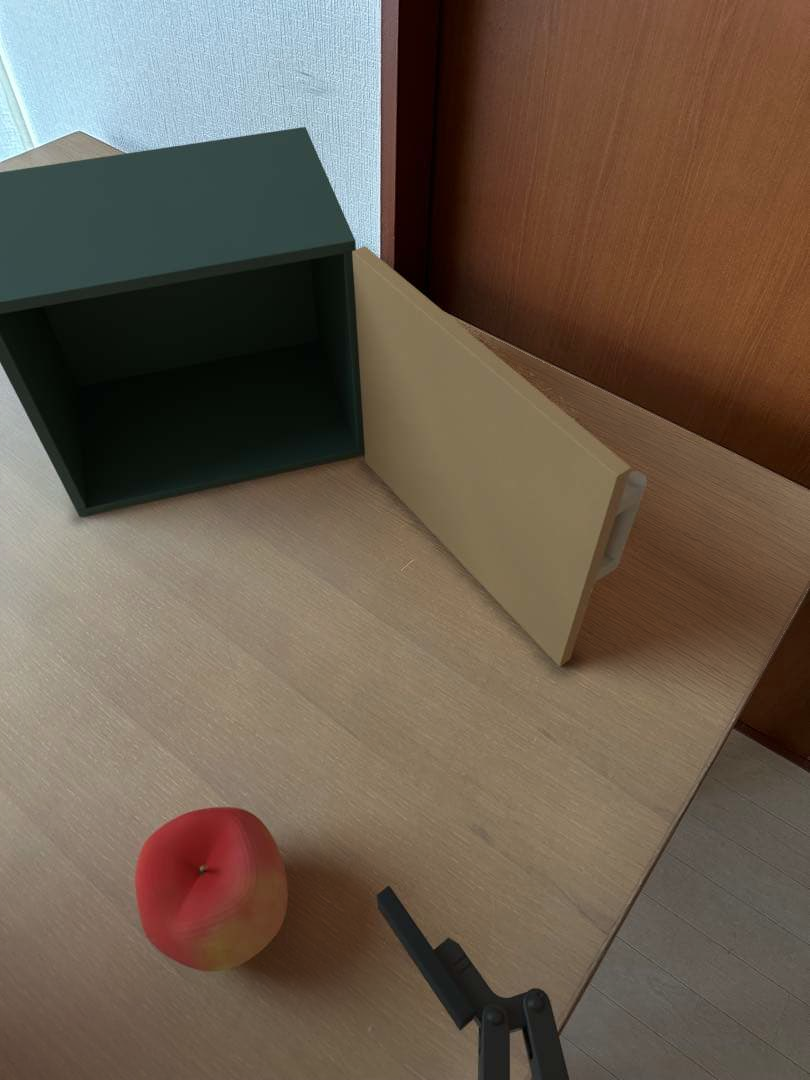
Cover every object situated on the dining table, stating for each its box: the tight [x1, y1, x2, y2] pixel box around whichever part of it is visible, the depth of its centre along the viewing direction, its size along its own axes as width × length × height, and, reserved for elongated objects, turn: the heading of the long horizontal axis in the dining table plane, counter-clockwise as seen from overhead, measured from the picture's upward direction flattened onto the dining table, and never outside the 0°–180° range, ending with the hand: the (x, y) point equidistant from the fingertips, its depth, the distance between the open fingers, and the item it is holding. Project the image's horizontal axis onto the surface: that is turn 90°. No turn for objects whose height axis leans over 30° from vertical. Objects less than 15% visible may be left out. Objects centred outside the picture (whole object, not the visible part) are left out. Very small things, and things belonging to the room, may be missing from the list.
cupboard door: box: [352, 245, 648, 667], centre depth 67 cm, size 7×28×24 cm, turn 36°
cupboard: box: [0, 126, 365, 518], centre depth 76 cm, size 18×28×24 cm, turn 106°
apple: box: [134, 806, 288, 972], centre depth 53 cm, size 10×10×10 cm
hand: (261, 990), depth 38 cm, fingers open, 13 cm apart
